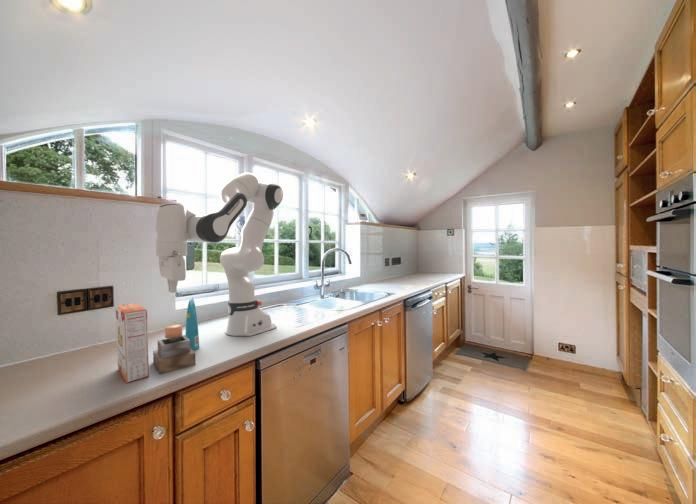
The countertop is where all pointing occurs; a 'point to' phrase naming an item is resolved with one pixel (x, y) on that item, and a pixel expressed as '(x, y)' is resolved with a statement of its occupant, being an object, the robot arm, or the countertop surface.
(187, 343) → the grey stepped open box
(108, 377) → the countertop surface
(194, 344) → the tube
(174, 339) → the push button
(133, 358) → the cracker box
